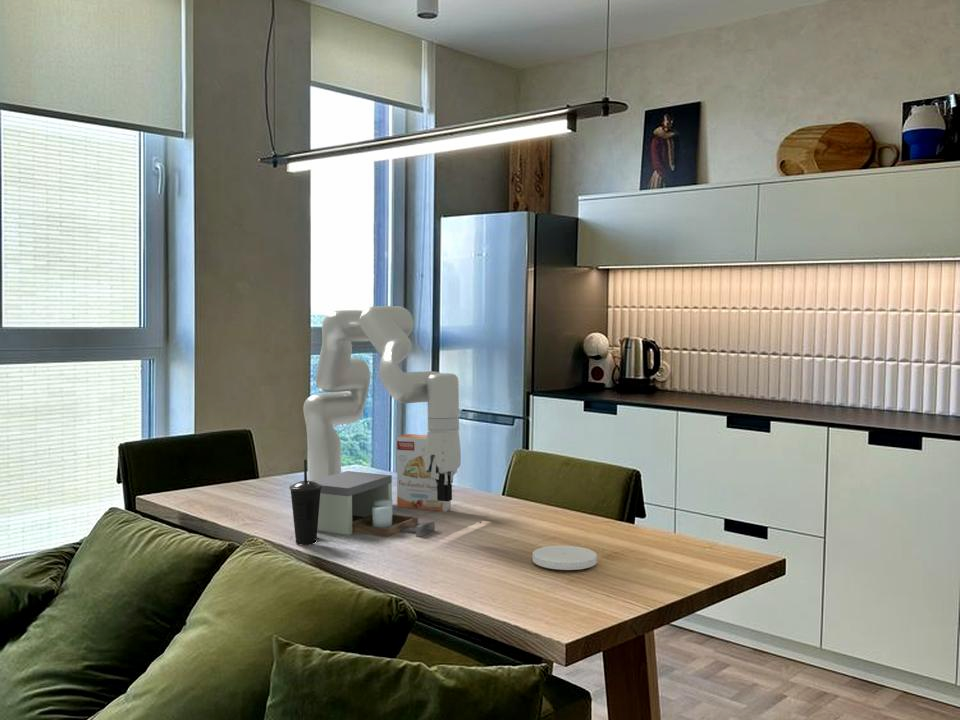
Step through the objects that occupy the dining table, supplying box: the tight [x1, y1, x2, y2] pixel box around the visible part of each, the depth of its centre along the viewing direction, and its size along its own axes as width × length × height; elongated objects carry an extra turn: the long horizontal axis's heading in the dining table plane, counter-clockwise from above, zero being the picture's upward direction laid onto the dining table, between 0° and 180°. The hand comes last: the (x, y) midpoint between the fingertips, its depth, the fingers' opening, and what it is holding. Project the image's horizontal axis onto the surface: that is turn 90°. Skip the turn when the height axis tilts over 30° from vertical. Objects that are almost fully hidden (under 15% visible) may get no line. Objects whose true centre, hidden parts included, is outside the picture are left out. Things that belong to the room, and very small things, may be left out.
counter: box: [312, 470, 393, 536], centre depth 227 cm, size 19×25×12 cm
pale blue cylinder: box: [372, 505, 393, 528], centre depth 221 cm, size 5×5×6 cm
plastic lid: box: [532, 545, 598, 571], centre depth 197 cm, size 14×14×2 cm
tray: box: [352, 513, 436, 538], centre depth 223 cm, size 14×19×3 cm
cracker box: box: [396, 433, 452, 513], centre depth 248 cm, size 14×6×21 cm, turn 68°
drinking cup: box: [288, 458, 322, 546], centre depth 214 cm, size 8×8×20 cm
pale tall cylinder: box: [373, 499, 394, 524], centre depth 228 cm, size 5×5×6 cm
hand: (444, 500), depth 217 cm, fingers closed
